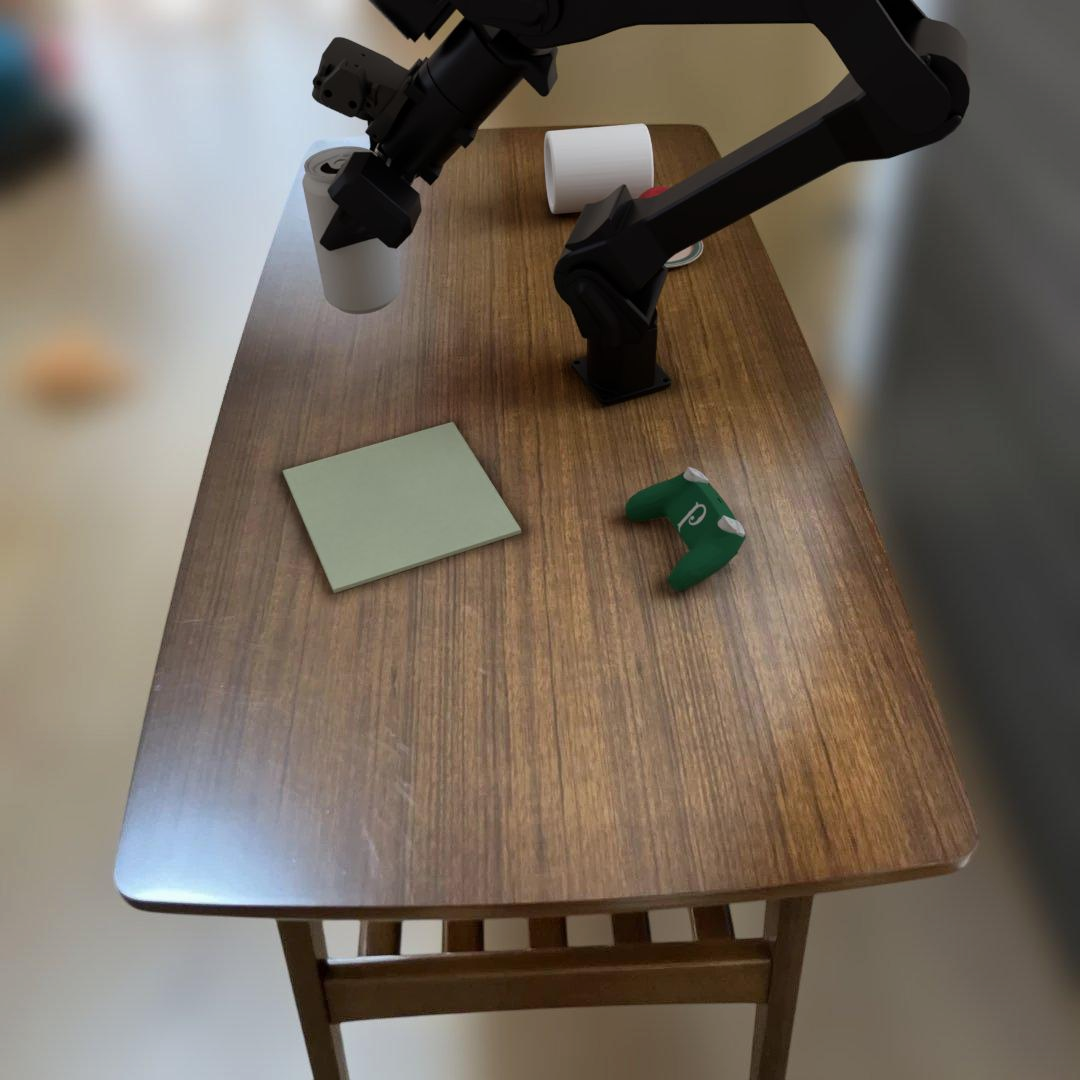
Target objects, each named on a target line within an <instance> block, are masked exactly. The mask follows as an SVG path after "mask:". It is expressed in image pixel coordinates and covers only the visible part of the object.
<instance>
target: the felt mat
mask: <svg viewBox="0 0 1080 1080" xmlns="http://www.w3.org/2000/svg"><path fill="white" fill-rule="evenodd" d="M282 475H283V476H284V479H285V481H286V484H287V486H288V488H289V490H290V493H291V495H292V498H293V500H294V502H295V506H296V507H297V510H298V512H299V515H300V516H301V519H302V521H303V524H304V526H305V529H306V531H307V533H308V536H309V538H310V541H311V543H312V545H313V548H314V550H315V552H316V554H317V556H318V559H319V562H320V564H321V566H322V568H323V571H324V575H326V579H327V580H328V583H329V585H330V588H331V590H332V592H333V594H338V593H339V592H343V591H347V590H349V589H353V588H355V587H358V586H359V587H360V586H362V585H365V584H368V583H372V582H374V581H377V580H380V579H383V578H386V577H389V576H393V575H396V574H400V573H402V572H405V571H409V570H411V569H414V568H417V567H420V566H424V565H426V564H431V563H433V562H436V561H439V560H442V559H443V560H444V559H446V558H449V557H452V556H455V555H458V554H461V553H464V552H467V551H471V550H473V549H474V550H475V549H476V548H477V549H478V548H480V547H482V546H486V545H488V544H492V543H496V542H498V541H501V540H504V539H509V538H511V537H514V536H517V535H521V534H522V528H521V527H520V525H519V524H518V522H517V521H516V519H515V517H514V515H513V514H512V513H511V511H510V510H509V508H508V506H507V505H506V503H505V502H504V500H503V498H502V497H501V495H500V494H499V492H498V491H497V489H496V488H495V486H494V485H493V484H494V483H493V482H492V481H491V480H490V478H489V476H488V475H487V473H486V472H485V469H484V468H483V467H482V465H481V463H480V462H479V460H478V458H477V457H476V456H475V454H474V452H473V451H472V449H471V448H470V446H469V444H468V443H467V441H466V440H465V438H464V436H463V435H462V434H461V432H460V430H459V429H458V427H457V426H456V424H455V422H454V421H451V422H447V423H443V424H439V425H435V426H432V427H430V428H426V429H423V430H419V431H415V432H412V433H409V434H404V435H401V436H399V437H395V438H391V439H387V440H385V441H384V440H383V441H381V442H377V443H374V444H370V445H366V446H363V447H359V448H356V449H353V450H349V451H345V452H342V453H340V454H336V455H332V456H328V457H324V458H321V459H318V460H315V461H314V460H313V461H311V462H307V463H304V464H301V465H297V466H293V467H290V468H287V469H283V470H282Z"/></svg>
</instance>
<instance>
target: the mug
mask: <svg viewBox="0 0 1080 1080" xmlns="http://www.w3.org/2000/svg"><path fill="white" fill-rule="evenodd" d="M653 152H654V151H653V145H652V139H651V135H650V131H649V129H648V127H647V125H646V124H644V123H631V124H618V125H607V126H594V127H582V128H580V127H579V128H570V129H569V128H568V129H559V130H558V129H557V130H548V131H546V132H545V135H544V141H543V159H544V160H543V162H544V163H543V165H544V177H545V179H544V180H545V187H546V196H547V201H548V206H549V209H550V213H552V214H553V215H559V214H560V215H561V214H571V213H573V214H574V213H581V212H582V211H583V209H584V207H585V205H586V204H590V203H596V202H599V201H601V200H603V199H605V198H606V197H608V196H609V195H610V194H611V193H612V192H614V191H615V190H616V189H617V188H618V187H620V186H621V185H623V184H625V185H626V186H627V188H628V190H629V192H630V194H631V197H632V199H636V198H639V196H640V195H641V194H642V193H644V192H645V191H646V190H648V189H650V188H652V187H654V180H655V179H654V177H655V176H654V174H655V171H654V169H655V168H654V167H655V166H654V153H653Z"/></svg>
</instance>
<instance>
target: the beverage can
mask: <svg viewBox="0 0 1080 1080" xmlns="http://www.w3.org/2000/svg"><path fill="white" fill-rule="evenodd" d="M369 149H370V148H366V147H362V146H355V145H345V146H343V145H342V146H336V147H330V148H326V149H323V150H320V151H318V152H316V153H314V154H312V155H310V156H309V157H308V158H307V159H306V160H305V162H304V163H303V164H304V165H303V169H304V172H305V173H304V176H303V178H302V182H301V184H302V188H303V189H302V190H303V195H304V200H305V204H306V209H307V214H308V220H309V224H310V229H311V235H312V239H313V244H314V249H315V254H316V259H317V264H318V269H319V274H320V279H321V285H322V289H323V295H324V297H325V300H326V301H327V303H328V304H329V305H331V306H332V307H333V308H336V309H338V310H339V311H341V312H343V313H346V314H350V315H366V314H372V313H375V312H378V311H381V310H383V309H384V308H386V307H387V306H388V305H390V304H391V303H392V302H393V301H394V300H395V299H396V298H397V297H398V296H399V294H400V293H401V289H402V281H401V273H400V268H399V261H398V253H397V249H394V248H389V247H387V246H386V245H385V244H384V243H383V242H381V241H380V240H379V239H378V238H376V239H371V240H367V241H364V242H360V243H357V244H353V245H350V246H347V247H343V248H340V249H337V250H333V251H328V250H327V249H325V248H324V247H323V246H322V245H321V244H320V243H319V241H320V239H321V237H322V236H323V234H324V232H325V230H326V228H327V226H328V225H329V223H330V221H331V219H332V217H333V215H334V214H335V212H336V210H337V208H338V205H337V204H336V203H335V202H334V201H332V200H331V198H330V196H329V194H328V191H327V190H328V188H329V186H330V184H331V183H332V181H333V179H334V177H335V176H336V174H337V173H338V171H339V169H340V167H341V166H342V164H344V163H345V162H346V161H347V159H348V158H349V157H350V156H351V155H352V154H353V152H372V153H373V154H375V153H374V152H373V151H371V150H369ZM375 155H376V154H375ZM376 156H377V155H376Z"/></svg>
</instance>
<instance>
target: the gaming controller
mask: <svg viewBox="0 0 1080 1080" xmlns="http://www.w3.org/2000/svg"><path fill="white" fill-rule="evenodd" d="M624 508H625V517H626V518H627V519H628V521H631V522H635V523H638V522H639V523H642V522H643V523H644V522H648V521H654V520H659V519H662V518H667V519H668V521H669V522H670V523H671V525H672V526H673V528H674V529H675V531H676V533H677V535H678V536H679V537H680V539H681V540H682V542H683V543H684V545H685V546H686V548H687V549H688V552H686V553H685V554H683V556H682V557H681V558H680V560H679V561H678V562H677V563H676V564H675V566H674V567H673V569H671V572H670V574H669V575H668V577H667V580H666V583H667V584H668V585H669V587H671V588H672V589H673V590H674V591H675V592H676V593H679V592H682V591H684V590H687V589H689V588H691V587H693V586H696V585H697V584H699V583H701V582H704V581H705V580H707V579H708V578H710V577H711V576H713V575H715V574H716V573H717V572H719V571H721V570H722V569H723V568H725V567H726V566H727V565H728V564H729V563H730V562H731V561H732V560H733V559H734V558H735V557H736V556H737V555H738V554H739V551H740V549H741V547H742V545H743V544H744V542H745V540H746V538H747V536H746V532H745V529H744V527H743V525H742V524H741V523H740V522H739V521H738V520H737V519H736V517H735V514H734V513H733V512H732V510H731V508H730V507H729V506H728V504H727V502H726V501H725V500H724V499H723V498H722V496H721V494H720V493H718V491H717V490H716V489H715V488H714V487H713V485H712V484H711V483H710V480H709V479H708V478H707V476H705V474H704V473H703V472H701V471H699V470H697V469H696V468H693V467H690V466H687V467H686V470H684V471H683V472H682V473H680V474H678V475H676V476H674V477H672V478H669V479H668V478H667V479H666V480H663V481H660V482H657V483H655V484H651V485H649V486H647V487H645V488H642V489H640V490H638V491H636V492H635V494H633V495H631V497H629V498H628V500H627V502H626V503H625V507H624Z"/></svg>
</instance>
